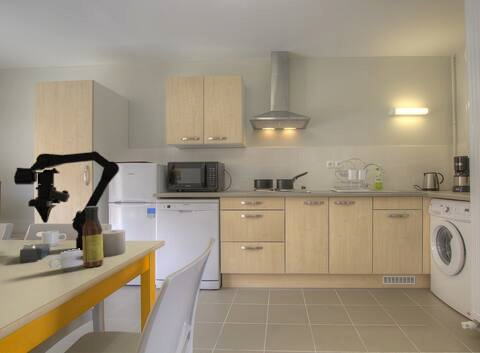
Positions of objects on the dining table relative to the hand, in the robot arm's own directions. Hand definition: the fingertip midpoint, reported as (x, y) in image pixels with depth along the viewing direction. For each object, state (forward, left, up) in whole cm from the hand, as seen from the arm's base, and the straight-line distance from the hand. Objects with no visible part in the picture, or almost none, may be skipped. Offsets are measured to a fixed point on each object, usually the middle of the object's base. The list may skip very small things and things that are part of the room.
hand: (45, 222), depth 126 cm
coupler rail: (0, +11, -12) cm, 16 cm away
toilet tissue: (-26, +13, -12) cm, 32 cm away
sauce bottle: (-23, +29, -12) cm, 39 cm away
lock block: (0, +10, -12) cm, 16 cm away
